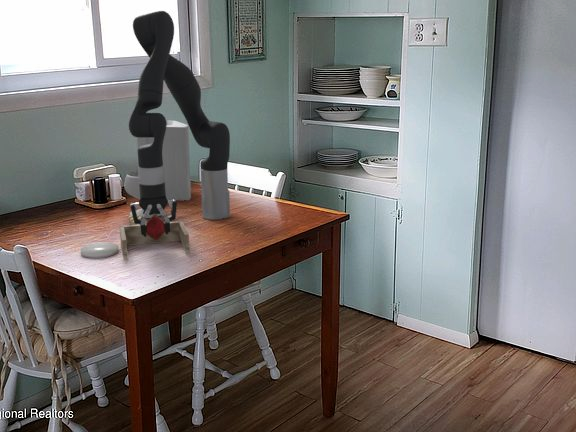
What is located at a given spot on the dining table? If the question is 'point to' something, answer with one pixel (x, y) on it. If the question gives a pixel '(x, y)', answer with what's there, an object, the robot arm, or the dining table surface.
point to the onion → (155, 227)
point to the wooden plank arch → (134, 237)
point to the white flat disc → (99, 250)
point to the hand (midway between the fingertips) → (155, 234)
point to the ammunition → (133, 220)
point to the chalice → (134, 189)
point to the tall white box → (174, 160)
